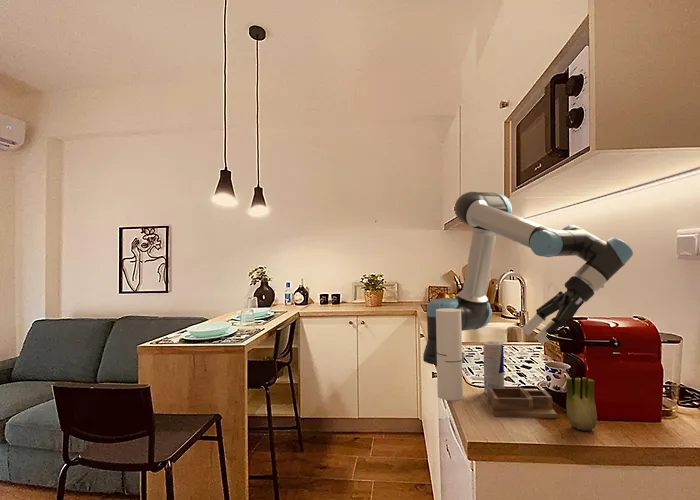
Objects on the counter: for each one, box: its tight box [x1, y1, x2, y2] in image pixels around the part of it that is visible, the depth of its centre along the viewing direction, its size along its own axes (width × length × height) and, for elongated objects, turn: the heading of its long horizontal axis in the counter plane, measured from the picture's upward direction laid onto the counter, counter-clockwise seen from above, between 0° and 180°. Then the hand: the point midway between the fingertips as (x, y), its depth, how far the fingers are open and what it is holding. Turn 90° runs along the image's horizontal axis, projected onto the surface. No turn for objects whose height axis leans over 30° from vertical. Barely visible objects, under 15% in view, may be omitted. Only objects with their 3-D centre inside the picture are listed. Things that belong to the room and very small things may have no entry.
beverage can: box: [482, 340, 505, 395], centre depth 133 cm, size 6×6×15 cm
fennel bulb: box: [565, 376, 598, 432], centre depth 106 cm, size 6×5×12 cm
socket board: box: [485, 387, 558, 419], centre depth 120 cm, size 13×15×4 cm
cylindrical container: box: [436, 308, 464, 401], centre depth 131 cm, size 7×7×25 cm
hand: (531, 336), depth 131 cm, fingers open, 13 cm apart
